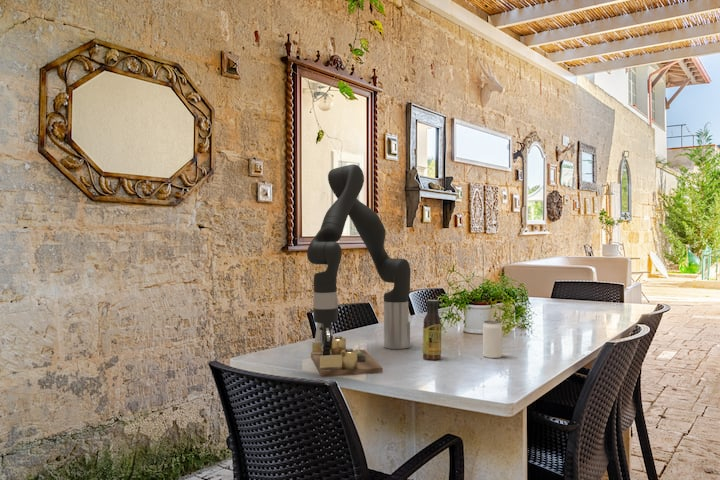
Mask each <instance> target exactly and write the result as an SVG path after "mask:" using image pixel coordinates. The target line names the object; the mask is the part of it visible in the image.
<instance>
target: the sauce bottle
mask: <svg viewBox="0 0 720 480" xmlns="http://www.w3.org/2000/svg"><path fill="white" fill-rule="evenodd" d="M439 303H440V301H439V299H427V300H426V305H427V306H426V315H425V316H424V318H423V326H422V328H423V329H422V358H423V359H424V360H433V361H435V360H440V359H441V357H442V330H443V329H442V327H443V326H442V322H441V318H440V314H439Z"/></svg>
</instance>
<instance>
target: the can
mask: <svg viewBox="0 0 720 480" xmlns="http://www.w3.org/2000/svg"><path fill="white" fill-rule="evenodd" d="M482 352H483V354H482V355H483V357H484V358H487V359H500V358H502V357H503V325H502V323H501V321H500V320H484V321H483V325H482Z"/></svg>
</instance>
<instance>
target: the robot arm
mask: <svg viewBox="0 0 720 480" xmlns="http://www.w3.org/2000/svg"><path fill="white" fill-rule="evenodd" d="M327 182H328V185H329V187H330V188H331V191H332V193H333V194H334V196H335V198H336V200H335V201H334V202H333V204H332V205H331V206H330V207H329V208H328V209H327V211H326V213H325V215H324V217H323V219H322V223H321V225H320V229H319V231H318V232H317V233H316V234H315V236H314V237H313V239H312V240H311V241H310V243H309V245H308V246H307V250H306V251H307V252H306V255H307V256H306V257H307V259H308V261H309V262H310V264H312V265H327V266H326V270H324V271H320V272H316V273H315V274H314V275H313V298H312V303H313V304H312V305H313V306H312V309H313V310H312V312H313V313H312V314H313V315H312V316H313V319H312V320H313V322H314V323H316V324H317V323H321V327H319V333H320V341H321V349H322V355H330V350H331V348H332V339H333V338H334V336H333V334H334V328H333V327H332V324H331V323H333V324H334V323H337V322H338V320H339V318H338V317H339V310H338V307H339V306H338V304H339V303H338V301H339V300H338V292H337V289H338V288H337V277H338V272H339V267H340V263H341V259H342V256H343V255H342V254H343V253H342V252H343V251H342V247H341V245H340V244H339V243H338V241H340V240H341V237H342V236H343V233H344V229H345V227H346V226H345V225H346V222H347V219H348V217H349V218H350V220H351V222H352V224H353V226H354V227H355V230H356V232H357V233H358V234H359V237H360V239H361V240H362V241H363V243H364V245H365V248H366V249H367V252H368V253H369V255H370V257H371V259H372V261H373V264H374V266H375V268H376V269H375V270H376V271H377V274H378V276H379V277H380V279H381V280H382V281H383V282H385V283H389V284H393V289H392V290H390V291H388V292H386V293H384V294H383V347H384V348H385V349H389V350H403V349H407V348H410V349H411V322H410V321H409V296H410V293H411V265H410V262H409V261H408V260H407V259H405V258H392V257H390V256H389V254H388V253H387V251H386V249H385V241H386V228H385V226H384V224H383V222H382V220H381V219H380V216H379V214H378V213H377V212H376V211H374V210H373V209H372V208H371V207H369V206H367V205H365V204H364V203H363V202H361V201H360V200H359V199H358V197H359V195H360V193H361V191H362V189H363V186H364V182H365V176H364V171H363V170H362V168H361V167H360V165H358V164H347V165H343V166H339V167H335V168H332V169H331V170H330V171H329V172H328V174H327Z"/></svg>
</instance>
